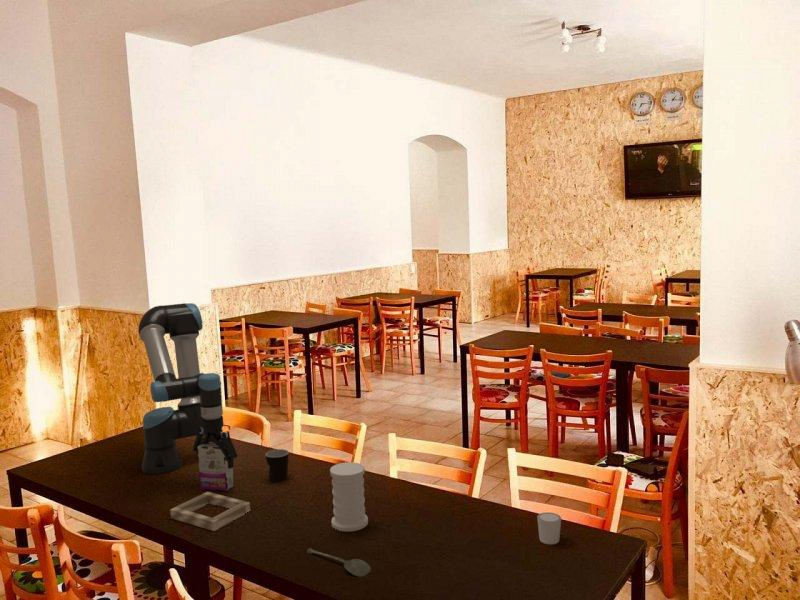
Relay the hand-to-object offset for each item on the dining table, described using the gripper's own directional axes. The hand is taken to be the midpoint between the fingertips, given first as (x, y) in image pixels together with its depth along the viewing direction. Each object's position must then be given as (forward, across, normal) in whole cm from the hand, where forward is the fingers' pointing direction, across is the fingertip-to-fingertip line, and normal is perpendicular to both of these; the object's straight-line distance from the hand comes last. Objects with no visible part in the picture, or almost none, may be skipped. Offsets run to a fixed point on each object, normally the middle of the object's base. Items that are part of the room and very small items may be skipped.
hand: (216, 473), depth 240 cm
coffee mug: (+6, +14, +18) cm, 24 cm away
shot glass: (+6, +119, +17) cm, 120 cm away
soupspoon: (+6, +71, -22) cm, 75 cm away
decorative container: (+6, +60, -1) cm, 60 cm away
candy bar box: (+6, 0, 0) cm, 6 cm away
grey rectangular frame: (+6, +15, -17) cm, 23 cm away
